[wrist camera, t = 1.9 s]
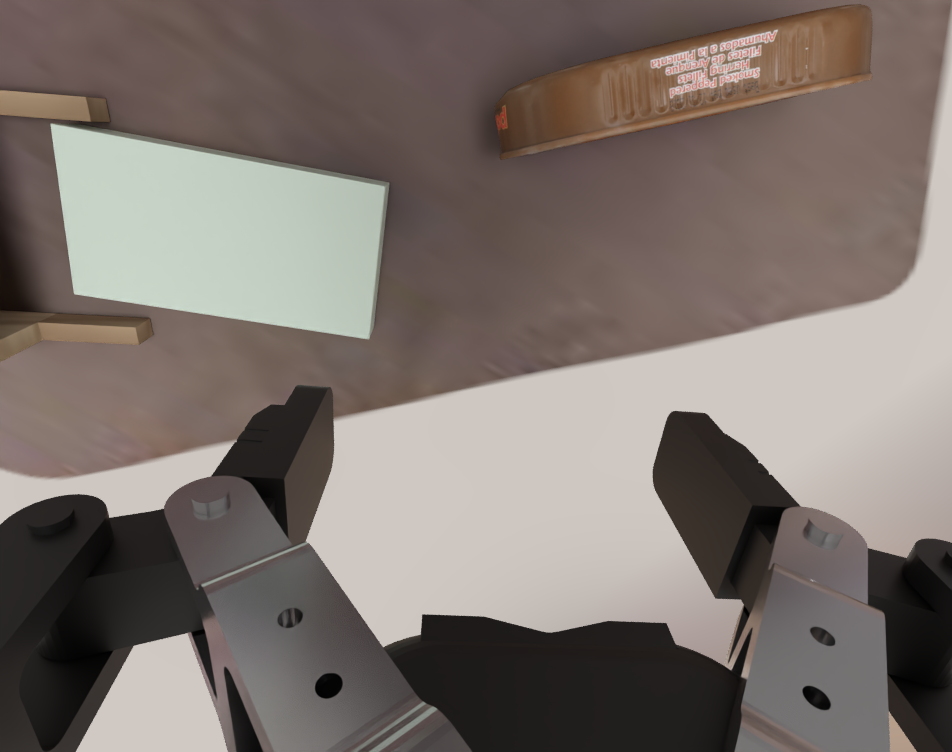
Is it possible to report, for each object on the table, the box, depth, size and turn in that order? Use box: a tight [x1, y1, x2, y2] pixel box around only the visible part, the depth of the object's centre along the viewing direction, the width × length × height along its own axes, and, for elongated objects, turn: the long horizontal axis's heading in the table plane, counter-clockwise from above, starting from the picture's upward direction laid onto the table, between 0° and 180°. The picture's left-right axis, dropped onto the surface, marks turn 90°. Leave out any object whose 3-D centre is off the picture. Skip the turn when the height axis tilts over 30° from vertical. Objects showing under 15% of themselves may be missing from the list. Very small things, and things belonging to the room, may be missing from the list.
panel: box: [51, 124, 389, 339], centre depth 27 cm, size 8×15×2 cm, turn 79°
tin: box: [495, 4, 872, 160], centre depth 22 cm, size 15×3×8 cm, turn 101°
